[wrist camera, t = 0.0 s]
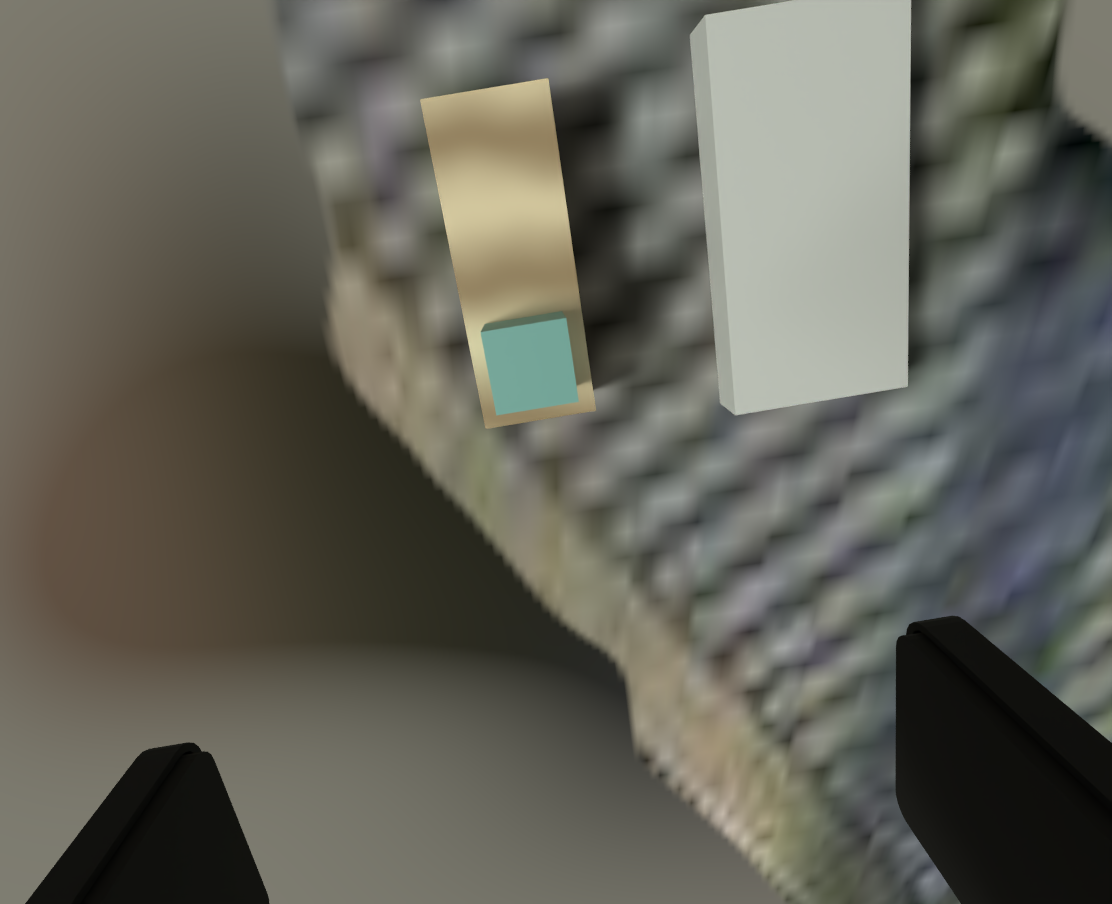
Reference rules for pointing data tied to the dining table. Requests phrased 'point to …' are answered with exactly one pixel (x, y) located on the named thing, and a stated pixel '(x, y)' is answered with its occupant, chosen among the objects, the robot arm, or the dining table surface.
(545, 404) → the teal cube
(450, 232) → the tan long block
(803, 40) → the dock
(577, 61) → the dining table surface
